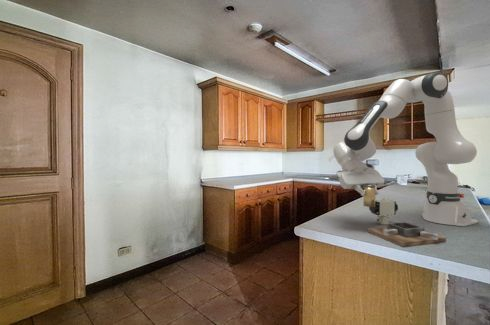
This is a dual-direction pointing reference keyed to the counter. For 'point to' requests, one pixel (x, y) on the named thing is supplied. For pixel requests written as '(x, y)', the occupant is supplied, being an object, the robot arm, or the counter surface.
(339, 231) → the counter surface
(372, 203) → the amber cylinder
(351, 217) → the counter surface
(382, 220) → the pneumatic valve
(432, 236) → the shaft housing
